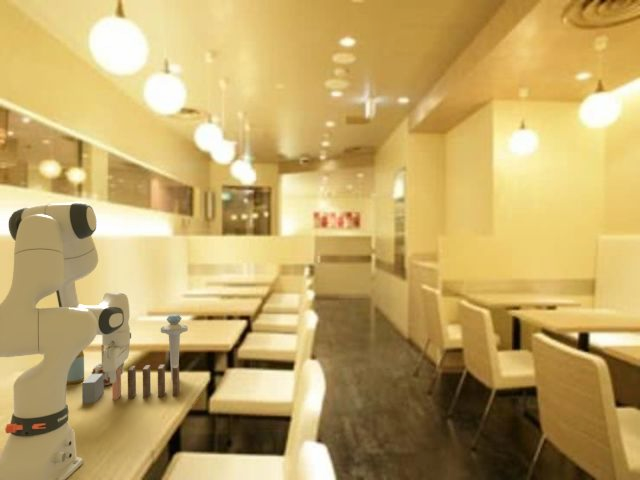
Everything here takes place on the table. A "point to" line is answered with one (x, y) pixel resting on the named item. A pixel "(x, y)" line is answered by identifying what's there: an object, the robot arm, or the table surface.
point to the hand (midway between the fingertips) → (116, 378)
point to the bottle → (76, 370)
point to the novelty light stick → (174, 337)
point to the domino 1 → (117, 384)
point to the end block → (92, 388)
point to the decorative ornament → (99, 370)
